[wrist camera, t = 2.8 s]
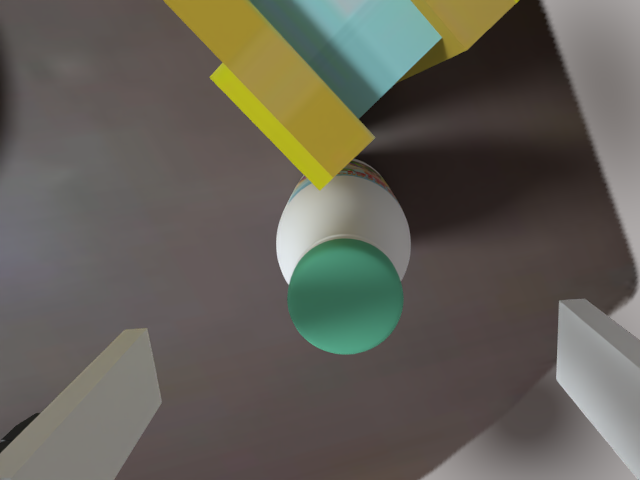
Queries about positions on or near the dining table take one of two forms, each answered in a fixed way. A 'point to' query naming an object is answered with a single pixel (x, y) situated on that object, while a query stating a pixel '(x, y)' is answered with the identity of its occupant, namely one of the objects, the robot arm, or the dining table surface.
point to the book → (327, 63)
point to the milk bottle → (344, 259)
